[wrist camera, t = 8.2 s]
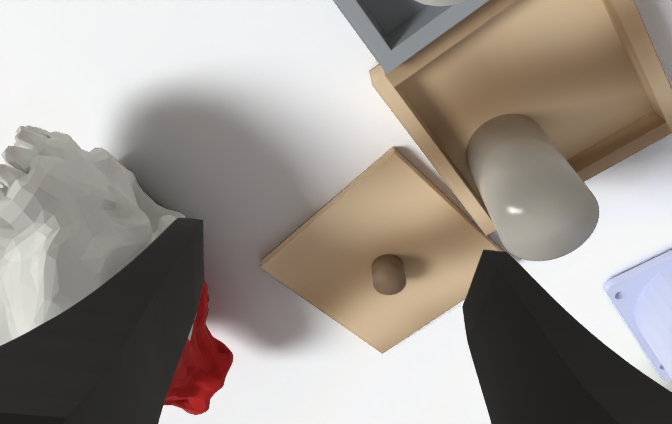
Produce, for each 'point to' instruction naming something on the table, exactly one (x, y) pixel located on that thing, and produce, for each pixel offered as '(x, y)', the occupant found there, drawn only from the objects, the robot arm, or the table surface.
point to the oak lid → (383, 254)
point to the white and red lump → (85, 246)
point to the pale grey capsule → (440, 2)
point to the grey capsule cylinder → (530, 189)
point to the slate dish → (401, 25)
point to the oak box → (533, 86)
